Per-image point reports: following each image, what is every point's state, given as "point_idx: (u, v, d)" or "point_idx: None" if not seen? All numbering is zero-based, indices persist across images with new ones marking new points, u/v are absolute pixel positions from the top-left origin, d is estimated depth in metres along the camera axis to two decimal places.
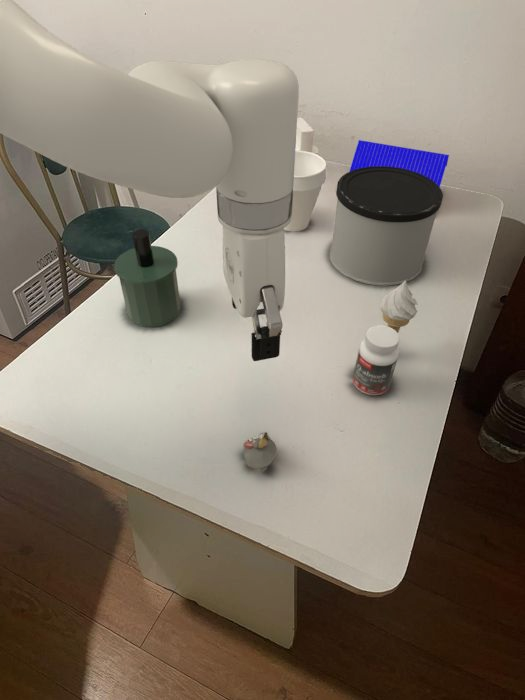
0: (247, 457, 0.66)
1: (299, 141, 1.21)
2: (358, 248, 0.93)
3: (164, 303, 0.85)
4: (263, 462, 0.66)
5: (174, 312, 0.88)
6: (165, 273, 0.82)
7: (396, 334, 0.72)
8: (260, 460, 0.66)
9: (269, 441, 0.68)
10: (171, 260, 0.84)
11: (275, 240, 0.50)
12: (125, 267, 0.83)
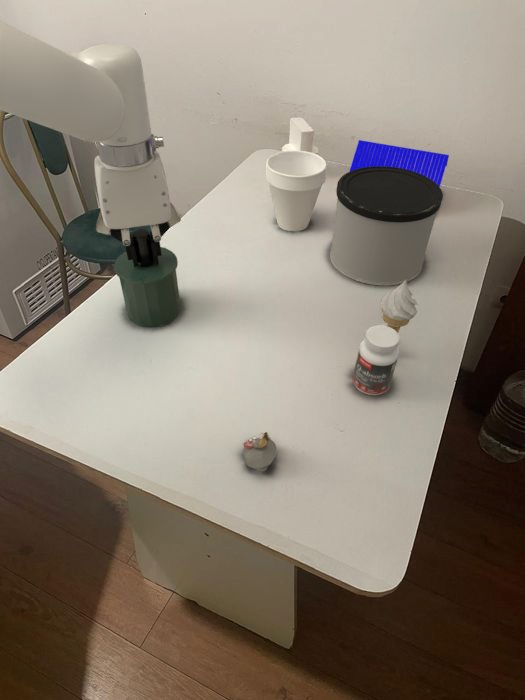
0: (247, 457, 0.66)
1: (299, 141, 1.21)
2: (358, 248, 0.93)
3: (164, 303, 0.85)
4: (263, 462, 0.66)
5: (174, 312, 0.88)
6: (165, 273, 0.82)
7: (396, 334, 0.72)
8: (260, 460, 0.66)
9: (269, 441, 0.68)
10: (171, 260, 0.84)
11: (96, 167, 0.71)
12: (125, 267, 0.83)
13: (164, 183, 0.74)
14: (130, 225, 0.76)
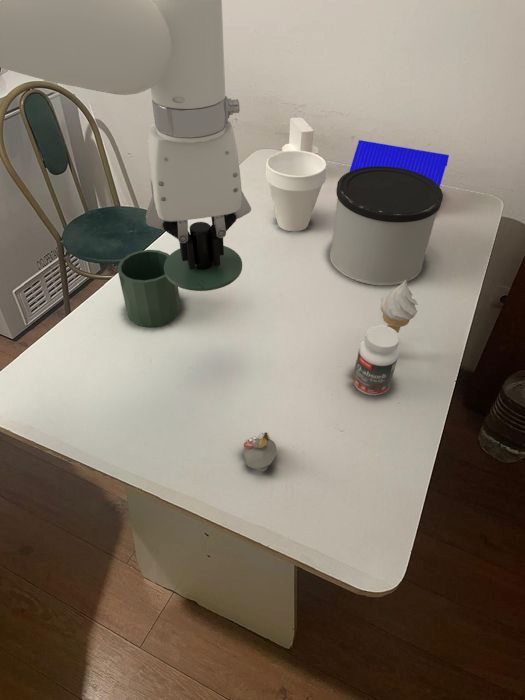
0: (247, 457, 0.66)
1: (299, 141, 1.21)
2: (358, 248, 0.93)
3: (164, 303, 0.85)
4: (263, 462, 0.66)
5: (174, 312, 0.88)
6: (230, 277, 0.65)
7: (396, 334, 0.72)
8: (260, 460, 0.66)
9: (269, 441, 0.68)
10: (234, 261, 0.68)
11: (152, 140, 0.54)
12: (178, 270, 0.66)
13: (237, 161, 0.57)
14: (190, 216, 0.60)
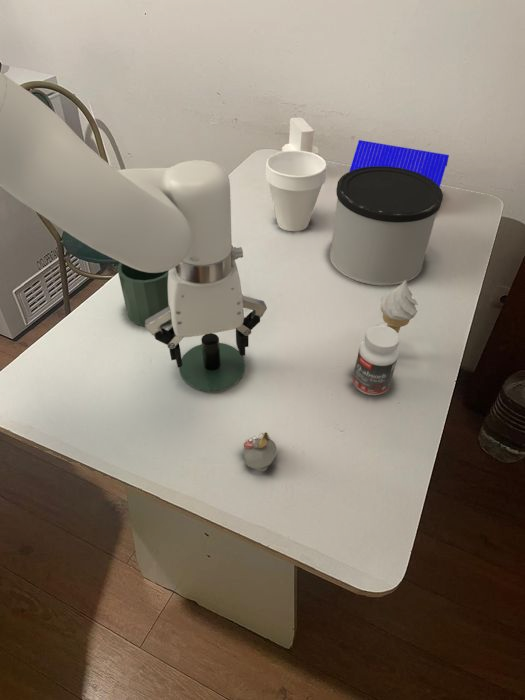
0: (247, 457, 0.66)
1: (299, 141, 1.21)
2: (358, 248, 0.93)
3: (164, 303, 0.85)
4: (263, 463, 0.66)
5: None
6: (235, 378, 0.78)
7: (396, 334, 0.72)
8: (260, 460, 0.66)
9: (269, 441, 0.68)
10: (238, 361, 0.80)
11: (171, 281, 0.66)
12: (191, 371, 0.79)
13: (240, 293, 0.69)
14: (201, 333, 0.72)
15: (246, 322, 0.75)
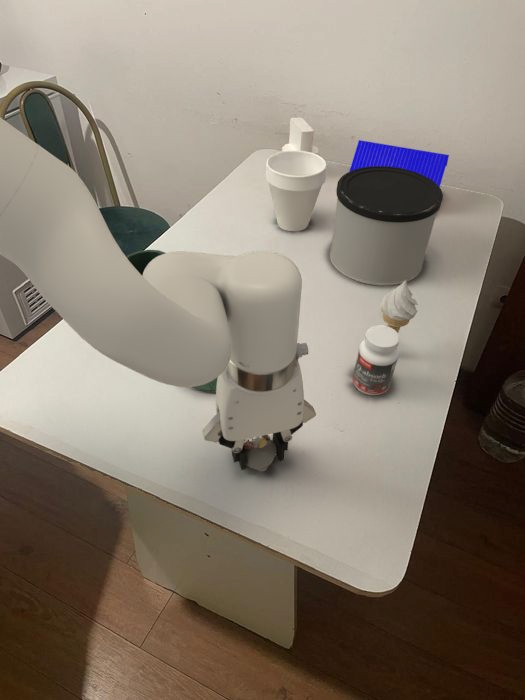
0: (247, 457, 0.66)
1: (299, 141, 1.21)
2: (358, 248, 0.93)
3: None
4: (263, 463, 0.66)
5: None
6: None
7: (396, 334, 0.72)
8: (260, 460, 0.66)
9: (269, 441, 0.68)
10: None
11: (224, 385, 0.56)
12: None
13: (302, 393, 0.59)
14: (254, 436, 0.61)
15: None
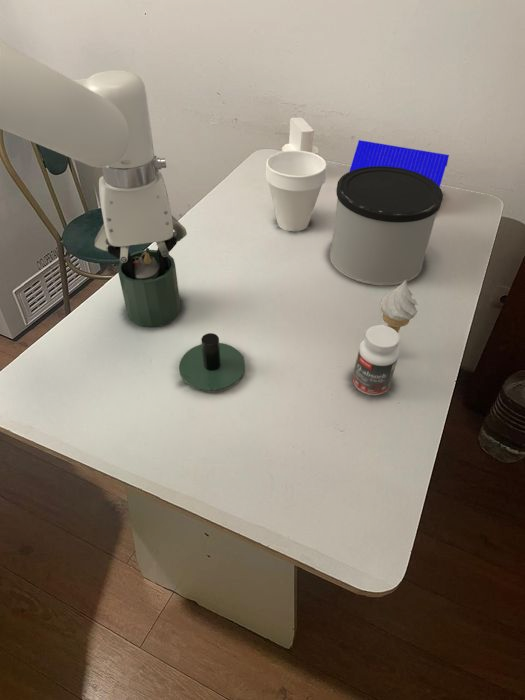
0: (135, 271, 0.83)
1: (299, 141, 1.21)
2: (358, 248, 0.93)
3: (164, 303, 0.85)
4: (146, 274, 0.83)
5: (174, 312, 0.88)
6: (235, 378, 0.78)
7: (396, 334, 0.72)
8: (144, 272, 0.83)
9: (154, 262, 0.85)
10: (238, 361, 0.80)
11: (100, 188, 0.73)
12: (191, 371, 0.79)
13: (166, 202, 0.76)
14: (133, 243, 0.79)
15: None
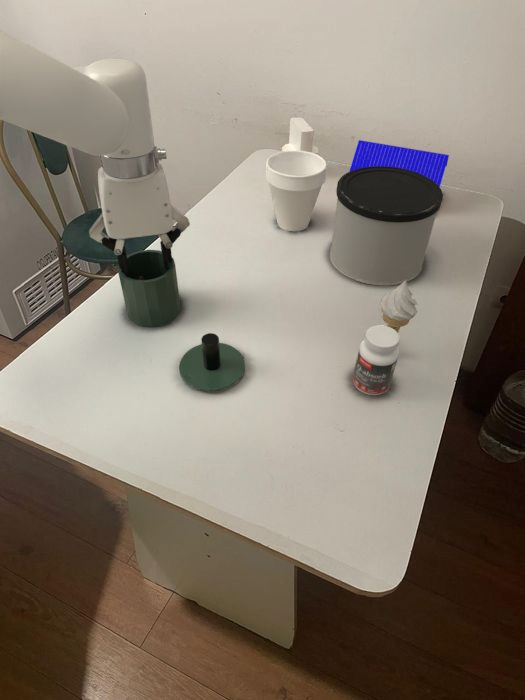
0: None
1: (299, 141, 1.21)
2: (358, 248, 0.93)
3: (164, 303, 0.85)
4: None
5: (174, 312, 0.88)
6: (235, 378, 0.78)
7: (396, 334, 0.72)
8: None
9: None
10: (238, 361, 0.80)
11: (100, 179, 0.72)
12: (191, 371, 0.79)
13: (166, 194, 0.75)
14: (132, 235, 0.77)
15: None
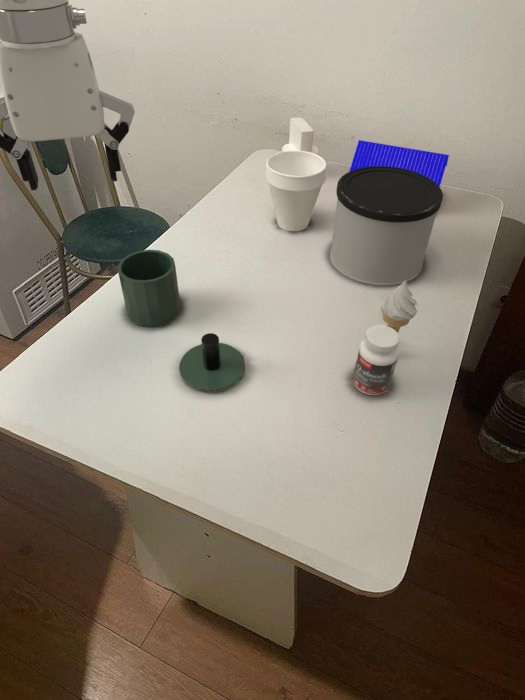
0: None
1: (299, 141, 1.21)
2: (358, 248, 0.93)
3: (164, 303, 0.85)
4: None
5: (174, 312, 0.88)
6: (235, 378, 0.78)
7: (396, 334, 0.72)
8: None
9: None
10: (238, 361, 0.80)
11: None
12: (191, 371, 0.79)
13: (90, 76, 0.56)
14: (49, 136, 0.59)
15: (112, 132, 0.62)
